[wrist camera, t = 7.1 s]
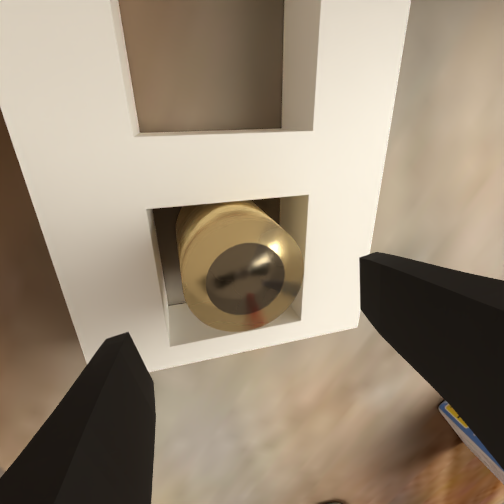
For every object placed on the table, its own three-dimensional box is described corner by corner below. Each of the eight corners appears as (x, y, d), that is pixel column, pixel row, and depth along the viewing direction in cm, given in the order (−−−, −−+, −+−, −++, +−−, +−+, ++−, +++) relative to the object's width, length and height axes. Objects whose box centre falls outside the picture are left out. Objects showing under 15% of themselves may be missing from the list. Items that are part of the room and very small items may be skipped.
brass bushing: (242, 172, 13) (283, 198, 9) (271, 246, 15) (317, 298, 10) (159, 210, 13) (157, 258, 8) (199, 281, 15) (215, 350, 10)
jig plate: (367, -83, 11) (435, -150, 8) (327, 295, 17) (357, 327, 15) (-32, -148, 8) (-133, -287, 5) (105, 335, 14) (93, 384, 12)
